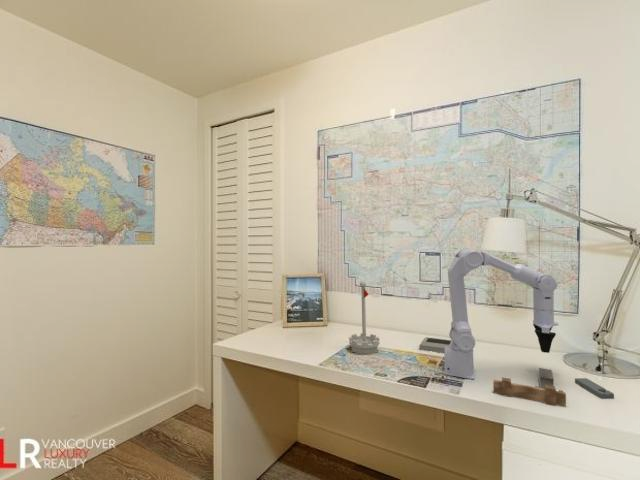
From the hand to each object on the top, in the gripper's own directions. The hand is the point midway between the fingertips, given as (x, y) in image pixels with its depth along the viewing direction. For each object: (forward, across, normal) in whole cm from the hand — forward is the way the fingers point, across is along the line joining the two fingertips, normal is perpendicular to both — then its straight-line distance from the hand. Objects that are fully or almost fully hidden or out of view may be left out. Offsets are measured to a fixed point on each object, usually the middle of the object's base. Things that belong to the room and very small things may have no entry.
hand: (544, 348), depth 110 cm
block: (+10, -8, 0) cm, 13 cm away
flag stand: (+10, -4, +65) cm, 66 cm away
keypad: (+10, +12, +36) cm, 40 cm away
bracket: (+10, -5, -12) cm, 17 cm away
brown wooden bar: (+9, -19, +6) cm, 22 cm away
